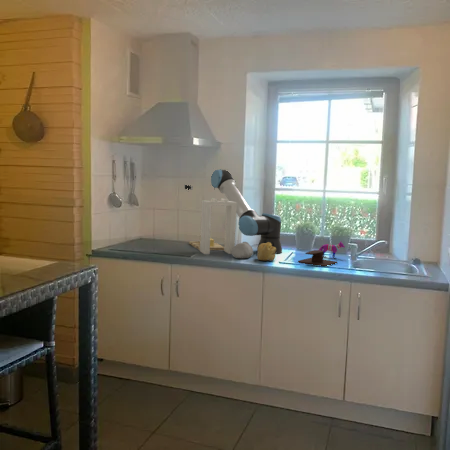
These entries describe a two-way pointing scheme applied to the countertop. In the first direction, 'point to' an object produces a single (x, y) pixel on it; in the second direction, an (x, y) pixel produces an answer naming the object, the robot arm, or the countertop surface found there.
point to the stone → (266, 252)
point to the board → (215, 247)
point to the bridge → (229, 224)
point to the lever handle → (316, 259)
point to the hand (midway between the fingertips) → (202, 188)
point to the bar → (211, 242)
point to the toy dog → (331, 248)
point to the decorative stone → (242, 250)
